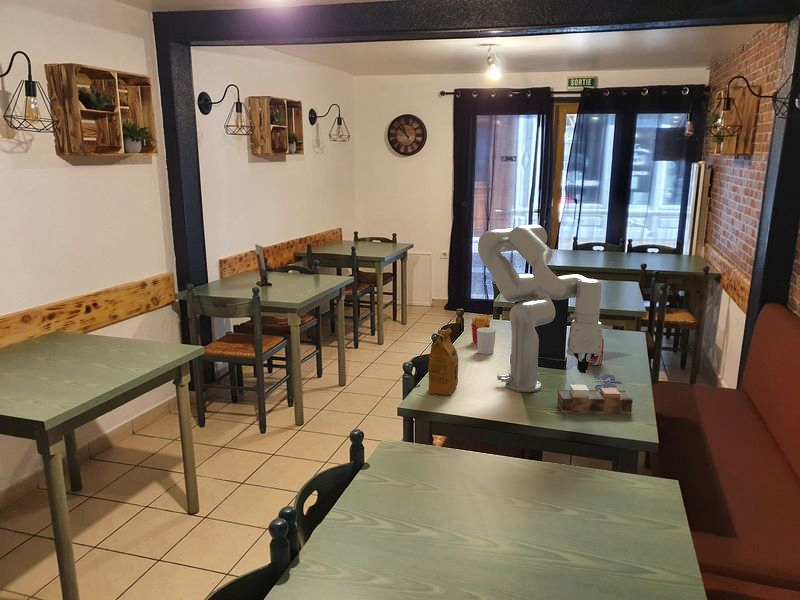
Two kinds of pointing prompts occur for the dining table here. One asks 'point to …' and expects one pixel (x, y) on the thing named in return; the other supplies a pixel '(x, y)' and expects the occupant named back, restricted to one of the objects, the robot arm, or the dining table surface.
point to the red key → (609, 393)
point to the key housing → (594, 403)
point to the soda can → (597, 357)
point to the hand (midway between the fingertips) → (582, 371)
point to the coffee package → (443, 365)
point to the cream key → (579, 391)
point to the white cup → (485, 340)
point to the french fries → (479, 325)
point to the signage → (607, 383)
